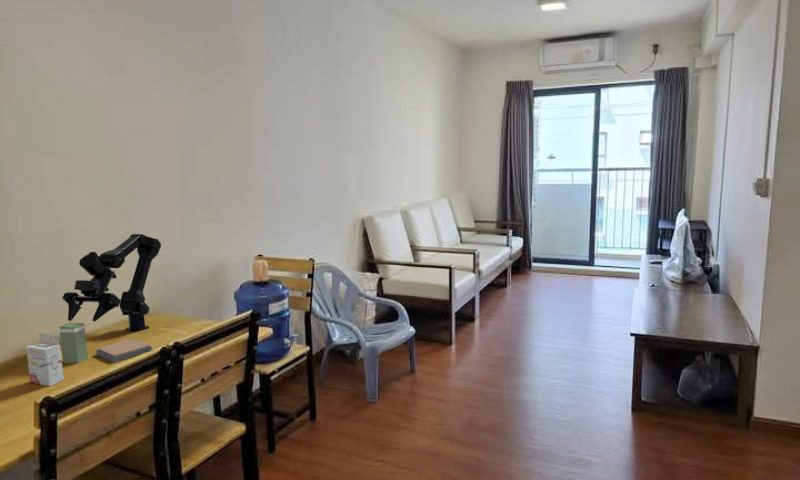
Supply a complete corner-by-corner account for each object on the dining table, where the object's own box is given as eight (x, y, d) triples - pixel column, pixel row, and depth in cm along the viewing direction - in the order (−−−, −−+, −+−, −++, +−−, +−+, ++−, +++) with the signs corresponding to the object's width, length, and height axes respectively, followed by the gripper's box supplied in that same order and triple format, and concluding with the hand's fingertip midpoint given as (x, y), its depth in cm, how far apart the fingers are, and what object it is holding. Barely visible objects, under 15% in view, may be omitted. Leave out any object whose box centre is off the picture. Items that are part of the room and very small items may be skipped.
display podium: (96, 354, 184) (95, 348, 183) (133, 344, 194) (132, 338, 194) (114, 362, 176) (113, 356, 176) (151, 351, 186) (151, 345, 186)
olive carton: (63, 362, 177) (59, 327, 175) (73, 357, 181) (69, 322, 180) (78, 363, 176) (74, 327, 174) (88, 358, 181) (84, 323, 179)
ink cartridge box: (29, 383, 160) (23, 337, 158) (44, 376, 165) (39, 331, 163) (49, 386, 158) (43, 339, 156) (64, 380, 162) (59, 334, 160)
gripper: (63, 270, 185) (41, 308, 176) (111, 270, 183) (93, 309, 174) (81, 286, 194) (62, 324, 185) (128, 287, 192) (111, 325, 183)
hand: (81, 320), depth 181 cm, fingers open, 9 cm apart
